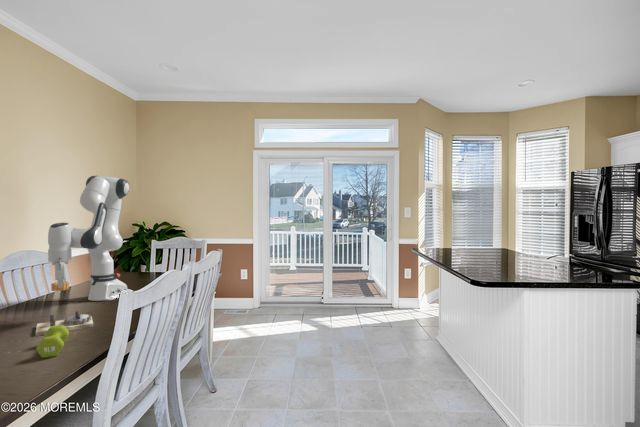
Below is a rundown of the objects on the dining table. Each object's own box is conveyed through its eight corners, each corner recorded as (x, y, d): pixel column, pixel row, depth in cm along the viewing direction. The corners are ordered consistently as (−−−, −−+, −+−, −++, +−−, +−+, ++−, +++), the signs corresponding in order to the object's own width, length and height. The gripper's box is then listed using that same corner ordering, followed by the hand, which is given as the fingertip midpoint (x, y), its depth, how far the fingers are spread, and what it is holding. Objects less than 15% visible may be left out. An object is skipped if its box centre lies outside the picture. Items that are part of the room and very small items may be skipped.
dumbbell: (62, 356, 123) (63, 336, 123) (34, 360, 119) (34, 340, 119) (70, 340, 137) (70, 322, 137) (45, 344, 133) (45, 325, 133)
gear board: (91, 318, 163) (91, 306, 163) (93, 326, 153) (93, 313, 153) (37, 327, 151) (37, 313, 151) (35, 336, 141) (35, 321, 141)
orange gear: (51, 288, 163) (51, 282, 163) (68, 286, 167) (68, 280, 167) (51, 291, 157) (51, 285, 157) (69, 289, 161) (69, 283, 161)
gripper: (68, 259, 155) (69, 289, 156) (67, 253, 171) (68, 280, 172) (51, 260, 151) (51, 291, 152) (52, 254, 168) (52, 282, 168)
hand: (60, 285), depth 162 cm, fingers closed on orange gear, 7 cm apart
